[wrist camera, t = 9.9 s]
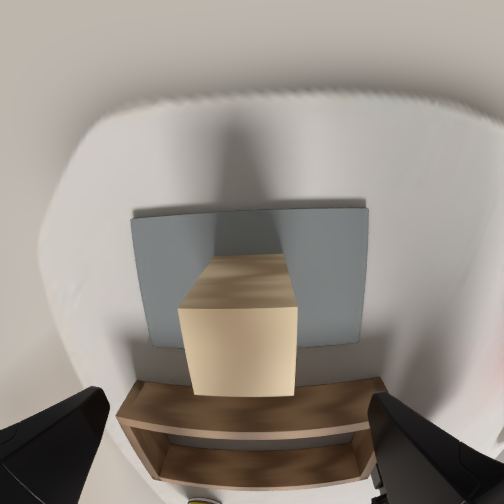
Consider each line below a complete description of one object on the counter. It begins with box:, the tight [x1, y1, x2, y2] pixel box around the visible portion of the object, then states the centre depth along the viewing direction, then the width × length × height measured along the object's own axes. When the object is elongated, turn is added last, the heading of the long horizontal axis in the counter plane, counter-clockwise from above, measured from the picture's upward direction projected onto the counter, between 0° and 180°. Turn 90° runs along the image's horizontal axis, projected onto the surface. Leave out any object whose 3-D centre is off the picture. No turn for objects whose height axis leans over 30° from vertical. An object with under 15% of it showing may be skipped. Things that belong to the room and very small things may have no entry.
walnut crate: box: [116, 377, 389, 491], centre depth 20 cm, size 22×11×5 cm, turn 93°
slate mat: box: [130, 208, 369, 348], centre depth 18 cm, size 16×10×1 cm, turn 93°
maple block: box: [178, 254, 298, 397], centre depth 14 cm, size 4×4×8 cm
